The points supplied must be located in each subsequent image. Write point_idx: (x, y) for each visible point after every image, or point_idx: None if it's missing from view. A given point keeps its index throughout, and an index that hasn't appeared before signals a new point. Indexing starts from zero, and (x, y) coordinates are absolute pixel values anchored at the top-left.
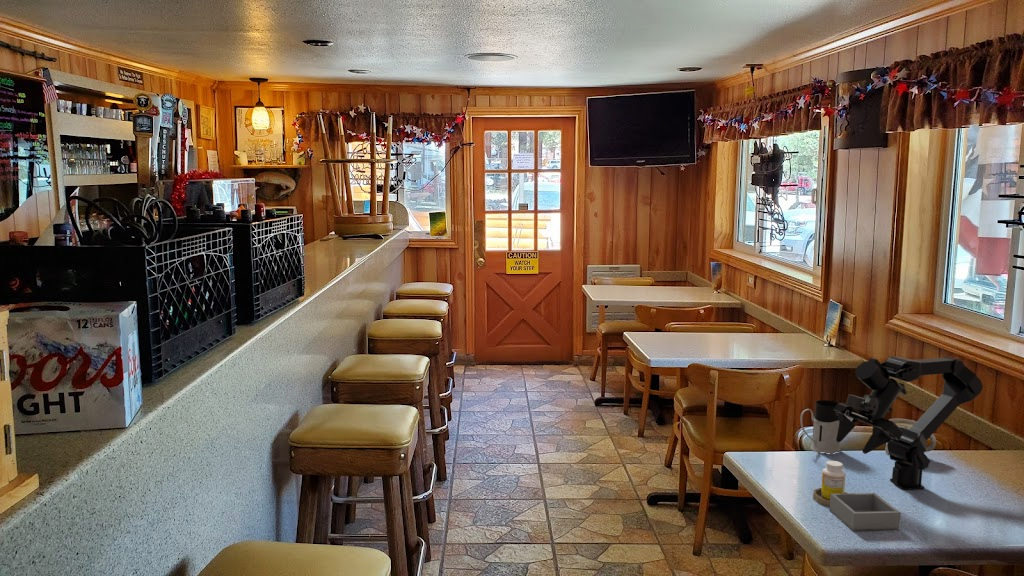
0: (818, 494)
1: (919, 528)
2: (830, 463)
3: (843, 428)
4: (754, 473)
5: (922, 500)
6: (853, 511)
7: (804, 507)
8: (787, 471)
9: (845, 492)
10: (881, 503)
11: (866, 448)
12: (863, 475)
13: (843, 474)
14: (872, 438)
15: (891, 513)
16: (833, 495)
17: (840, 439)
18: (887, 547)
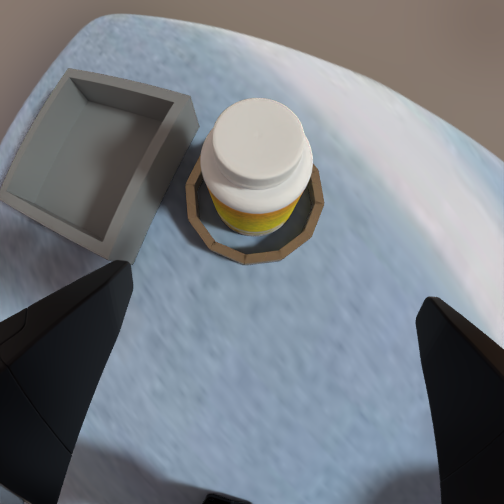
0: (309, 193)
1: (12, 272)
2: (266, 112)
3: (485, 391)
4: (491, 164)
5: (126, 468)
6: (74, 74)
7: (254, 83)
8: (483, 267)
9: (247, 259)
10: (63, 221)
11: (90, 277)
12: (352, 478)
13: (202, 163)
14: (7, 330)
15: (10, 170)
16: (175, 95)
17: (425, 332)
18: (17, 115)
